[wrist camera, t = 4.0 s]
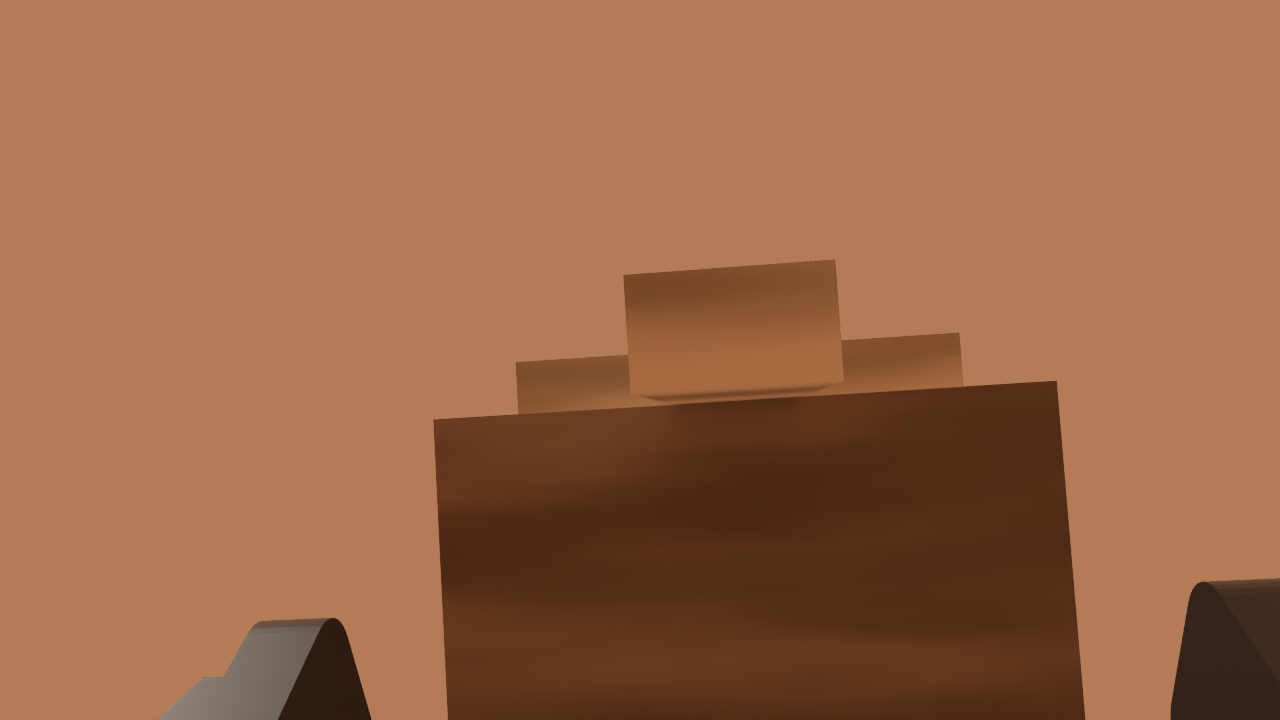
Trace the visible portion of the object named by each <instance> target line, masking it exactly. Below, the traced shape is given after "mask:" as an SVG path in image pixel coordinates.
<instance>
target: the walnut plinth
mask: <svg viewBox="0 0 1280 720" xmlns="http://www.w3.org/2000/svg"><path fill="white" fill-rule="evenodd" d="M434 439H435V461H436V482H437V501H438V523H439V543H440V564H441V583H442V605H443V625H444V645H445V663H446V664H445V666H446V684H447V685H446V687H447V707H448V720H1085V711H1084V699H1083V687H1082V676H1081V664H1080V652H1079V640H1078V628H1077V618H1076V605H1075V594H1074V581H1073V570H1072V558H1071V546H1070V534H1069V522H1068V510H1067V499H1066V487H1065V475H1064V463H1063V452H1062V439H1061V428H1060V416H1059V404H1058V392H1057V381H1048V382H1031V383H1015V384H1000V385H984V386H967V387H951V388H935V389H919V390H903V391H886V392H870V393H854V394H838V395H822V396H806V397H790V398H774V399H758V400H742V401H726V402H710V403H694V404H678V405H662V406H646V407H630V408H614V409H597V410H581V411H565V412H549V413H533V414H517V415H501V416H485V417H470V418H453V419H438V420H434Z"/></svg>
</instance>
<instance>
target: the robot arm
mask: <svg viewBox="0 0 1280 720" xmlns="http://www.w3.org/2000/svg"><path fill="white" fill-rule="evenodd" d="M157 720H371V716H370V713H369V709H368V706H367V703H366V699H365V696H364V692H363V689H362V685H361V682H360V678H359V675H358V671H357V668H356V665H355V661H354V657H353V654H352V650H351V647H350V644H349V640H348V637H347V634H346V631H345V629H344V627H343V625H342V623H341V622H340V621H339V620H337V619H336V618H321V619H298V620H274V621H261V622H258V623H257V624H255V625H254V626H253V627H252V628H251V629H250V631H249V633H248V634H247V636H246V638H245V639H244V641H243V643H242V645H241V647H240V649H239V650H238V652H237V654H236V656H235V658H234V659H233V661H232V663H231V665H230V666H229V668H228V670H227V672H226V674H225V675H224V677H209V678H208V677H205V678H202V679H201V680H199V681H198V682H197V683H196V684H195V685H194V686H193V687H192V688H191V689H190V690H189V691H188V692H187V693H185V694H184V695H183V696H182V697H181V698H180V699H179V700H178V701H177V702H176V703H175V704H173V705H172V707H170V708H169V709H168V710H167V711H166V712H165V713H164V714H163V715H162V716H160V717H159V718H158V719H157ZM1171 720H1280V578H1277V579H1254V580H1232V581H1210V582H1200V583H1198V584H1197V585H1196V586H1195V587H1194V588H1193V590H1192V592H1191V595H1190V599H1189V603H1188V608H1187V614H1186V620H1185V626H1184V632H1183V638H1182V644H1181V650H1180V656H1179V662H1178V667H1177V674H1176V679H1175V685H1174V691H1173V697H1172V703H1171Z"/></svg>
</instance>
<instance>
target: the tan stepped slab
mask: <svg viewBox="0 0 1280 720" xmlns="http://www.w3.org/2000/svg"><path fill="white" fill-rule="evenodd" d="M624 292H625V308H626V325H627V342H628V355H618V356H604V357H588V358H574V359H558V360H543V361H529V362H516V376H517V394H518V413H519V414H533V413H549V412H565V411H581V410H597V409H614V408H630V407H646V406H662V405H678V404H694V403H710V402H726V401H742V400H758V399H774V398H790V397H806V396H822V395H838V394H854V393H870V392H886V391H903V390H919V389H935V388H951V387H964V386H963V374H962V362H961V349H960V337H959V333H947V334H932V335H917V336H903V337H888V338H873V339H858V340H843V341H841V333H840V319H839V305H838V291H837V278H836V264H835V260H822V261H809V262H795V263H782V264H769V265H754V266H742V267H741V266H740V267H727V268H713V269H700V270H686V271H673V272H659V273H645V274H631V275H624Z"/></svg>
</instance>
